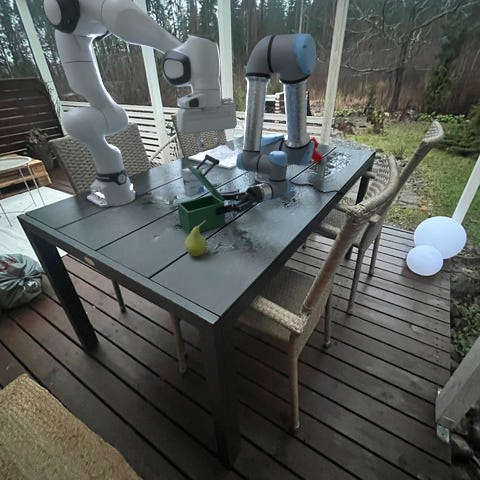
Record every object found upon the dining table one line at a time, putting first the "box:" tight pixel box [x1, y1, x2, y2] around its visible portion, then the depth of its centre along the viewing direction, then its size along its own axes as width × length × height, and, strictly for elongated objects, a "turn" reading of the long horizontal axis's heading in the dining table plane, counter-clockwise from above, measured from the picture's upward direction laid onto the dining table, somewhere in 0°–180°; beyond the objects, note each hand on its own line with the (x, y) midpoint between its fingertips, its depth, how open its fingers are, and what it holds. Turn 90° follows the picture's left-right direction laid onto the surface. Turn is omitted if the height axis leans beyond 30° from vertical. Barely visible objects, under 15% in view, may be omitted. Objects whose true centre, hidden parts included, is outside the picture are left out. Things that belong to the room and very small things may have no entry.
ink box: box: [181, 165, 205, 197], centre depth 128 cm, size 8×5×12 cm, turn 134°
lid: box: [186, 154, 225, 203], centre depth 98 cm, size 16×9×9 cm
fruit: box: [184, 219, 208, 257], centre depth 85 cm, size 7×8×12 cm
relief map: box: [188, 144, 243, 170], centre depth 178 cm, size 27×35×5 cm
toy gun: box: [310, 136, 324, 165], centre depth 169 cm, size 18×4×15 cm
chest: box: [176, 194, 226, 235], centre depth 103 cm, size 15×9×9 cm, turn 124°
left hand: (209, 145), depth 92 cm, fingers open, 5 cm apart
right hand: (210, 206), depth 103 cm, fingers closed on chest, 9 cm apart
